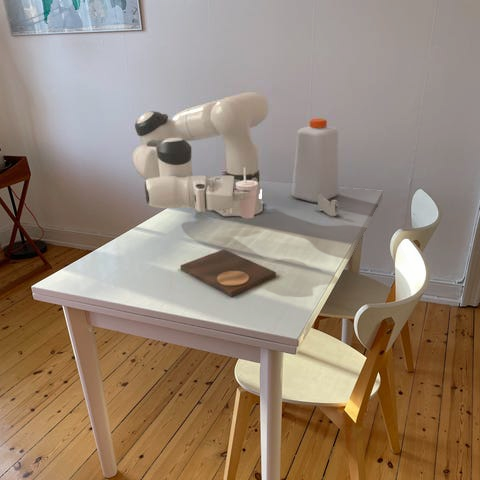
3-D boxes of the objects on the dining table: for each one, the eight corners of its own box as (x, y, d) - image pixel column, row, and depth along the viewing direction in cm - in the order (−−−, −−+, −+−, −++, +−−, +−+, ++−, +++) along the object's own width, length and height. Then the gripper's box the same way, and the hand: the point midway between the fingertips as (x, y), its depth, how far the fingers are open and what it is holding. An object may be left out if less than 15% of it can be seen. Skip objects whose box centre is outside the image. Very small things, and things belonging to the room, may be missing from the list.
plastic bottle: (341, 195, 193) (347, 118, 179) (319, 205, 184) (323, 125, 170) (310, 188, 202) (313, 114, 188) (287, 197, 193) (288, 121, 178)
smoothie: (235, 213, 147) (234, 165, 140) (257, 212, 147) (257, 164, 140) (237, 220, 141) (235, 171, 134) (259, 219, 142) (259, 170, 134)
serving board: (180, 270, 140) (180, 263, 139) (224, 253, 149) (223, 247, 148) (231, 296, 126) (230, 290, 125) (275, 277, 135) (275, 270, 134)
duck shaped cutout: (320, 210, 180) (339, 217, 172) (317, 211, 179) (336, 218, 172) (321, 194, 177) (340, 201, 169) (318, 195, 176) (337, 202, 169)
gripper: (204, 191, 151) (250, 190, 151) (198, 214, 134) (250, 213, 133) (203, 170, 148) (249, 169, 147) (197, 191, 130) (249, 190, 130)
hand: (250, 190), depth 140 cm, fingers closed on smoothie, 6 cm apart
